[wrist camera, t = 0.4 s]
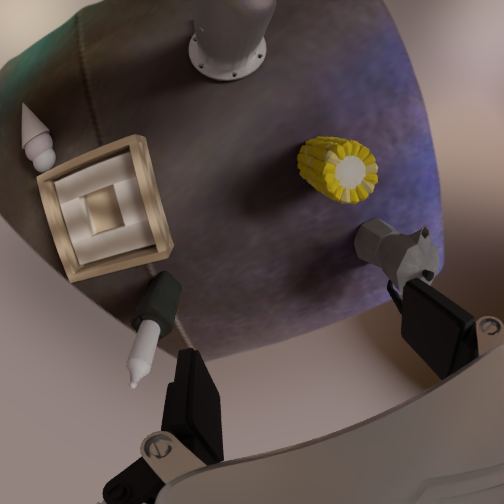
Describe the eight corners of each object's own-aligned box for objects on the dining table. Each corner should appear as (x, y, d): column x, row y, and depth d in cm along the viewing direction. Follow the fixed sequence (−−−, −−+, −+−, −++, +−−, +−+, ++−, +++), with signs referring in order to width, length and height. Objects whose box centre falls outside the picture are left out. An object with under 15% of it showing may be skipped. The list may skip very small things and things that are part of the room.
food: (339, 142, 45) (329, 191, 48) (286, 128, 41) (276, 183, 44) (397, 150, 33) (384, 213, 36) (339, 128, 29) (324, 203, 32)
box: (54, 173, 39) (36, 177, 33) (145, 137, 39) (135, 134, 34) (83, 269, 45) (70, 283, 39) (173, 245, 46) (168, 257, 40)
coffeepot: (355, 206, 48) (416, 233, 31) (395, 207, 49) (459, 232, 32) (347, 283, 53) (394, 334, 36) (385, 279, 54) (437, 323, 37)
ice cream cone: (35, 100, 33) (61, 164, 40) (9, 115, 30) (35, 181, 37) (37, 87, 29) (64, 158, 36) (8, 104, 25) (35, 177, 33)
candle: (164, 303, 49) (135, 407, 26) (145, 284, 48) (101, 381, 24) (184, 289, 49) (164, 392, 25) (165, 268, 47) (128, 363, 24)
